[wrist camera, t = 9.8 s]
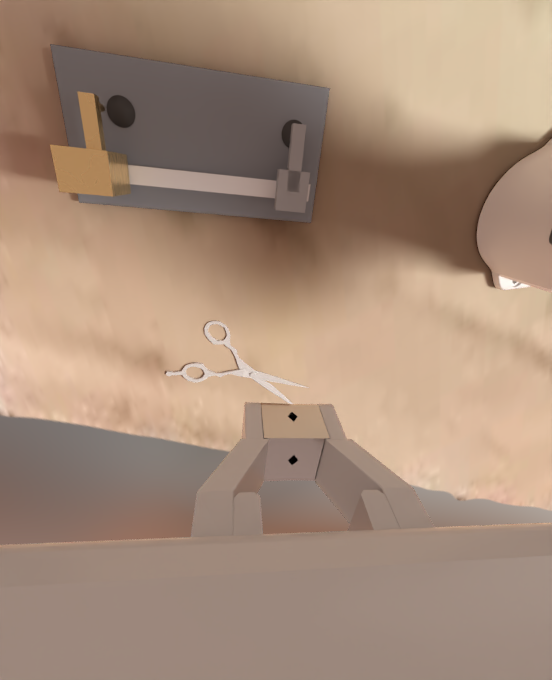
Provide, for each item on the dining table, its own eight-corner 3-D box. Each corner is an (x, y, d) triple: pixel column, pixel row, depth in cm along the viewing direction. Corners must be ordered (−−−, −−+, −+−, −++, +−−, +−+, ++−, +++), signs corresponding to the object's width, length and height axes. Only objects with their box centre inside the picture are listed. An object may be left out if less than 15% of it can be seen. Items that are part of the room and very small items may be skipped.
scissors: (199, 312, 39) (324, 373, 45) (200, 309, 39) (323, 370, 46) (165, 374, 42) (285, 423, 49) (166, 371, 43) (285, 419, 50)
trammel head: (124, 104, 27) (98, 86, 22) (134, 192, 30) (113, 196, 25) (75, 97, 27) (35, 77, 21) (90, 188, 30) (59, 191, 24)
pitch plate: (326, 90, 30) (339, 79, 26) (309, 221, 35) (317, 226, 32) (56, 48, 26) (29, 28, 23) (83, 201, 32) (64, 204, 28)
